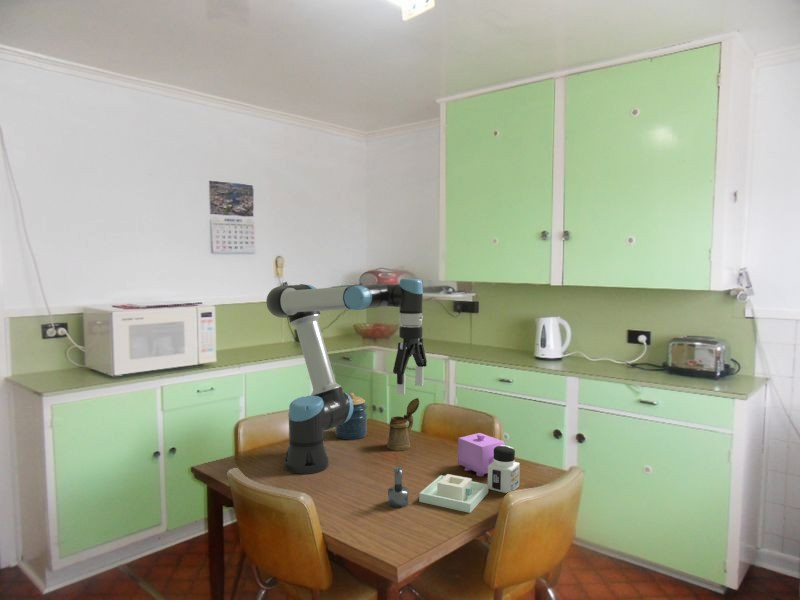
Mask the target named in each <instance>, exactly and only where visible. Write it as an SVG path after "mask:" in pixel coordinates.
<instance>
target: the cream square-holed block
mask: <svg viewBox="0 0 800 600" xmlns="http://www.w3.org/2000/svg"><path fill="white" fill-rule="evenodd" d="M444 476H445V477H444V478H442V479H441V480H440V481H439V482H438V483H437V496H441V497H446V498H450V499H455V500H460V501H464V500H465V499H466V498H467V497H468V496H470V495H471V494H472V481H473V478H470V477H465V476H461V475H454V474H449V473H447V474H445V475H444Z"/></svg>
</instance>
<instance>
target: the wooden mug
mask: <svg viewBox="0 0 800 600" xmlns="http://www.w3.org/2000/svg"><path fill="white" fill-rule="evenodd" d="M419 405H420V399H419V398H418V397H416V398H414V399H412V400H411V401H410V402H409V403H408V405H407V407H406V414H404V415H403V416H392V417H391V418H390V422H389V424H388V425H389V431H388V432H389V434H388V440H387V442H386V448H387V449H388V450H391V451H397V452H401V451H406V450H409V449H410V448H411V442H410V438H409V437H410V433H411V430H412V428H413V424H414V418H413V414H415V413H416V412H417V411H418V409H419Z"/></svg>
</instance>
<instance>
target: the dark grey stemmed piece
mask: <svg viewBox="0 0 800 600" xmlns="http://www.w3.org/2000/svg"><path fill="white" fill-rule="evenodd" d="M393 470H394V471H393V473H394V486H391V487H389V488H388V489H387V504H388V506H390V507H391V508H395V509H398V508H399V509H401V508H405V507H407V506H408V505H409V489H408V488H407V487H405V486H403V466H402V465H398V466H397V467H395V468H394V469H393Z"/></svg>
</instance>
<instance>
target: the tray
mask: <svg viewBox="0 0 800 600" xmlns="http://www.w3.org/2000/svg"><path fill="white" fill-rule="evenodd" d="M445 476H446V475H442V474H441V475H440V474H439V476H438V477H437V478H435V479H434V480H433V481H432V482H431V483H429V484H428V485H427V486H426V487H425V488H423V489H422V490H421V491H420V492H419V493H418V495H419V497H418V498H419V500H418V501H419V503H422V504H423V503H424V504H428V505H433V506H436V507H437V506H438V507H442V508H447V509H451V510H455V511H460V512H465V513H469V514H470V513H472V511H473V510H474V509H475V508H476V507H477V506H478V505H479V504H480V503H481V502H482V500H483V499H484V498H485V497H486V496H487V495H488V494H489V489H488V483H484V482H483V483H482V482H478V481H473V480H472V494H471V495H470V496H468V497H467V498H466V499H465V500H464V501H460V500H455V499H450V498H446V497H441V496H437V483H438V482H439V481H440V480H441V479H442V478H444V477H445Z"/></svg>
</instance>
